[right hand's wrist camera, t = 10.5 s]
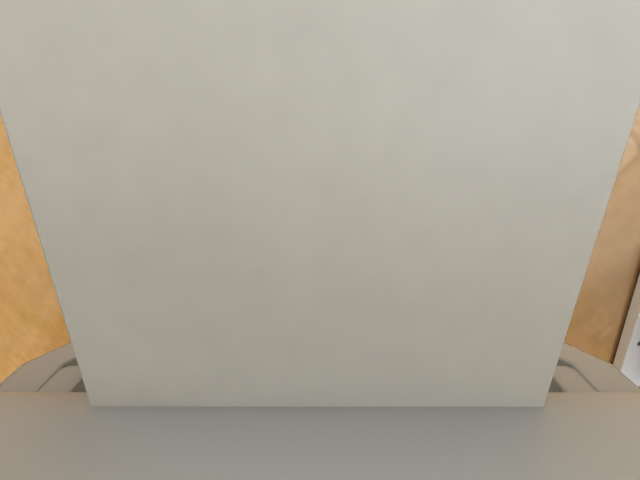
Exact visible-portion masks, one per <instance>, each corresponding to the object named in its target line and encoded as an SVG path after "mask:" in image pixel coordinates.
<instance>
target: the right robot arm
mask: <svg viewBox="0 0 640 480" xmlns="http://www.w3.org/2000/svg"><path fill="white" fill-rule="evenodd" d="M0 480H640V273H639V277H638V280H637V284H636V287H635V290H634V294H633V297H632V301H631V304H630V307H629V311H628V314H627V318H626V321H625V325H624V328H623V331H622V335H621V338H620V342H619V345H618V348H617V352H616V355H615V359H614V362H613V364H610V363H608V362H606V361H604V360H602V359H599V358H597V357H595V356H593V355H590V354H588V353H586V352H584V351H582V350H579V349H577V348H575V347H573V346H571V345H568V344H566V343H563V346H562V349H561V352H560V356H559V359H558V362H557V365H556V368H555V371H554V374H553V378H552V381H551V384H550V387H549V390H548V393H547V396H546V400H545V403H544V406H542V407H157V406H91V405H90V401H89V398H88V395H87V392H86V388H85V385H84V382H83V379H82V376H81V372H80V369H79V366H78V363H77V359H76V356H75V353H74V350H73V346H72V343H69V344H67V345H65V346H63V347H60V348H58V349H56V350H54V351H51V352H49V353H47V354H45V355H42V356H40V357H38V358H36V359H33V360H31V361H29V362H27V363H24V364H22V365H21V366H20V367H19V368H18V369H17V370H16V371H14V372H13V373H12V374H11V375H10V376H9V377H7V378H6V379H5V380H4V381H3V382H2V383H1V384H0Z"/></svg>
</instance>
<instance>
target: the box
mask: <svg viewBox="0 0 640 480" xmlns="http://www.w3.org/2000/svg"><path fill="white" fill-rule="evenodd" d="M639 104H640V0H0V113H1V116H2V120H3V123H4V126H5V129H6V133H7V136H8V139H9V142H10V146H11V149H12V152H13V155H14V159H15V162H16V165H17V168H18V171H19V175H20V178H21V181H22V184H23V188H24V191H25V194H26V197H27V201H28V204H29V207H30V210H31V214H32V217H33V220H34V223H35V227H36V230H37V233H38V236H39V239H40V243H41V246H42V249H43V252H44V256H45V259H46V262H47V265H48V269H49V272H50V275H51V278H52V282H53V285H54V288H55V291H56V295H57V298H58V301H59V304H60V308H61V311H62V314H63V317H64V320H65V324H66V327H67V330H68V333H69V337H70V340H71V343H72V346H73V350H74V353H75V356H76V359H77V363H78V366H79V369H80V372H81V376H82V379H83V382H84V385H85V388H86V392H87V395H88V398H89V401H90V405H91V406H157V407H542V406H544V403H545V400H546V396H547V393H548V390H549V387H550V384H551V381H552V378H553V374H554V371H555V368H556V365H557V362H558V359H559V356H560V352H561V349H562V346H563V343H564V340H565V337H566V333H567V330H568V327H569V324H570V321H571V318H572V315H573V311H574V308H575V305H576V302H577V299H578V296H579V293H580V289H581V286H582V283H583V280H584V277H585V274H586V271H587V267H588V264H589V261H590V258H591V255H592V252H593V248H594V245H595V242H596V239H597V236H598V233H599V230H600V226H601V223H602V220H603V217H604V214H605V211H606V208H607V204H608V201H609V198H610V195H611V192H612V189H613V185H614V182H615V179H616V176H617V173H618V170H619V167H620V163H621V160H622V157H623V154H624V151H625V148H626V145H627V141H628V138H629V135H630V132H631V129H632V126H633V122H634V119H635V116H636V113H637V110H638V107H639Z"/></svg>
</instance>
